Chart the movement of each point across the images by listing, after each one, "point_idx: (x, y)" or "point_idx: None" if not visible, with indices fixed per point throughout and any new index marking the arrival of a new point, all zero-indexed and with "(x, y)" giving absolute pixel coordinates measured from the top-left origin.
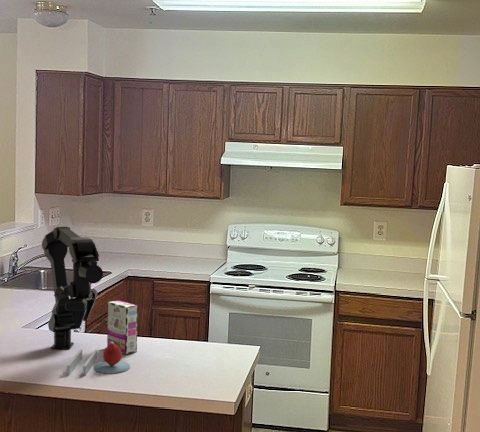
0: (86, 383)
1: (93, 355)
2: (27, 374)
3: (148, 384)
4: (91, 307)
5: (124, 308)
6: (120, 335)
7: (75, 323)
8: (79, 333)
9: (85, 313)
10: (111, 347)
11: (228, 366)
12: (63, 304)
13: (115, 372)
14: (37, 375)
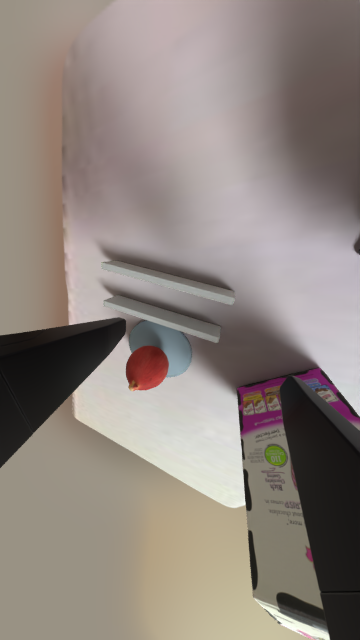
0: (85, 299)
1: (174, 328)
2: (110, 135)
3: (97, 375)
4: (315, 561)
5: (270, 587)
6: (266, 422)
7: (86, 326)
8: None
9: (309, 443)
10: (127, 377)
11: (161, 458)
12: None
13: (131, 349)
14: (107, 177)
